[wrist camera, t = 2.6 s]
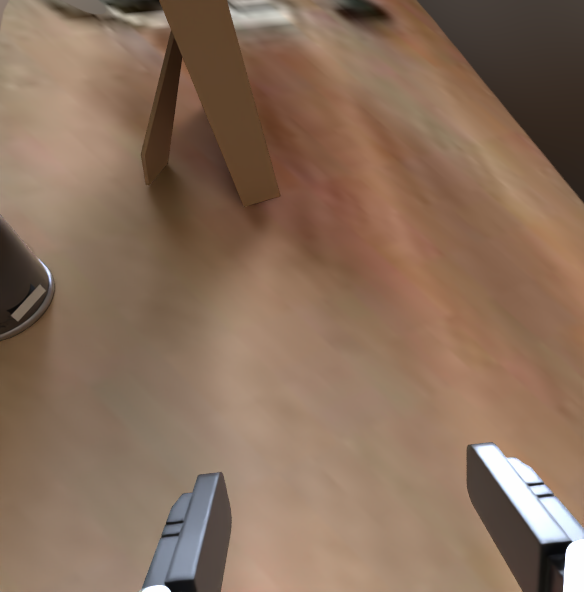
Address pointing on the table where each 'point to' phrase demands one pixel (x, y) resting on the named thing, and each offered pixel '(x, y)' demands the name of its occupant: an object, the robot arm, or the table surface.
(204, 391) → the table surface
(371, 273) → the table surface
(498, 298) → the table surface
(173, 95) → the photo frame
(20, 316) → the robot arm
